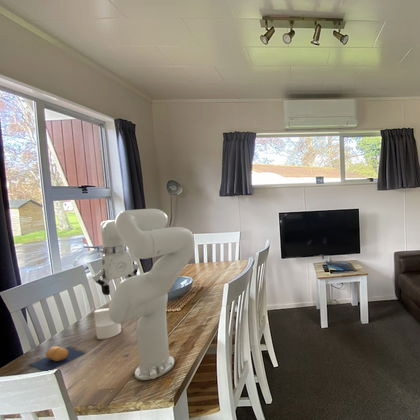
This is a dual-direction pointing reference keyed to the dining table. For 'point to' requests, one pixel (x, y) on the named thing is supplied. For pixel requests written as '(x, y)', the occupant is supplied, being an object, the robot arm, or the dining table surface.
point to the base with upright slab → (105, 324)
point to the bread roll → (57, 353)
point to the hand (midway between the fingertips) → (119, 290)
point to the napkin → (51, 364)
